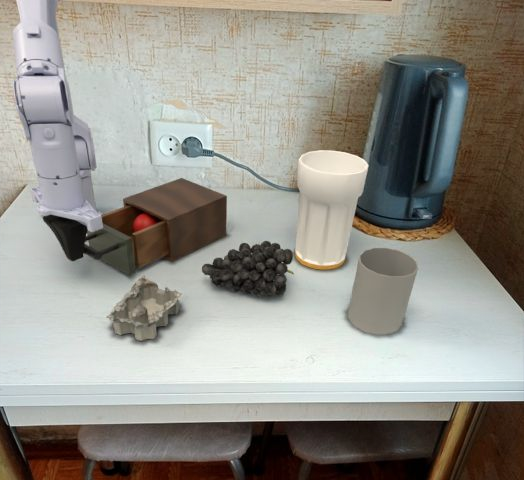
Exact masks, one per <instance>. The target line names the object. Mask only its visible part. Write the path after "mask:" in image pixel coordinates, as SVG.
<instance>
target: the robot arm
mask: <svg viewBox="0 0 524 480" xmlns="http://www.w3.org/2000/svg"><path fill="white" fill-rule="evenodd" d="M60 1H61V0H15V2H16V6H17V11H18V16H19V20H20V22H19V23H18V24H17V25H16V26H15V27H14V28H13V32H12V42H13V50H14V59H15V61H14V62H15V68H16V79H17V80H15V79H14V80H13V81H12V93H13V98H14V104H15V108H16V112H17V114H18V118H19V119H20V122H21V125H22V128H23V131H24V135H25V138H26V141H28V142H29V146H30V151H31V155H32V160H33V164H34V169H35V173H36V178H37V182H38V186H36V187H32V188H30V189H29V191H30V196H31V199H32V202H34V203H36V204H39V206H37V207H36V211H37V213H38V214H40V215H41V216H42V221H43V222H44V223H45V225H47V227H48V228H49V229H50V230H51V232H52V233H53V234H54V236H55V238H56V239H57V242H59V245H60V247H61V249H62V251H63V253H64V255H65V257H66V258H67V260H69V261H71V262H76V261H78V260H80V259H83V258H84V255H85V254H84V246H85V244H86V242H85V239H86V236H87V231H90V232H94V231H97V230H99V229H102V228H103V223H102V216H101V215H103V214H104V213H103V212H101V211H99V210H97V204H96V197H95V192H94V185H93V179H92V172H95V170H96V168H97V167H98V166H97V160H96V152H95V146H94V140H93V136H92V130H91V128H90V126H89V125H88V123H87V122H85V121H83V120H82V119H81V118H80V117H77V116H76V115H75V114H74V108H73V107H74V106H73V102H72V101H73V100H72V95H71V90H70V85H69V82H68V79H67V75H66V70H65V63H64V57H63V53H62V45H61V38H60V33H59V27H58V22H57V11H58V10H57V9H58V2H60Z"/></svg>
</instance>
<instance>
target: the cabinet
mask: <svg viewBox="0 0 524 480" xmlns="http://www.w3.org/2000/svg"><path fill="white" fill-rule="evenodd" d="M122 202H123V203H122V204H123V207H125V206H127V205H131V206H134V207H136V208H138V209H140V210H142V211H144V212H147V213H149V214H151V215H153V216H155V217H157V218H160V219H162V220H164V221H166V222H167V231H168V246H169V254H168V255H166V256H164V257H162V258H161V259H164V260H166V261H169V263H174V262H175V261H178V260H180V259H182V258H185V257H186V256H188V255H190V254H192V253H193V252H196V251H199V250H200V249H202V248H205V247H206V246H208V245H210V244H212V243H215V242H217V241H219V240H220V239H223V238H225V237H227V225H228V224H227V219H228V218H227V216H228V215H227V213H228V211H227V209H228V196H227V195H225V194H224V193H221V192H219V191H216V190H213V189H211V188H208V187H206V186H203V185H201V184H199V183H196V182H193V181H191V180H188V179H186V178H184V177H180V178H177V179H175V180H172V181H169V182H165V183H163V184H161V185H157V186H155V187H151V188H149V189H146V190H144V191H140V192H137V193H135V194H132V195H129V196H127V197H126V196H125V197H123V198H122Z"/></svg>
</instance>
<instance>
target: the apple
mask: <svg viewBox="0 0 524 480" xmlns="http://www.w3.org/2000/svg"><path fill="white" fill-rule="evenodd" d="M159 222H160V221H159V220H158V218H157V217H155V216H153V215H151V214H149V213H144V214H141V215H139V216H138V217H137V218H136V219H135V221H134V224H133V229H134V233H135V232H137V231H140V230H142V229H144V228H147V227H149V226H152V225H154V224H156V223H159Z"/></svg>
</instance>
